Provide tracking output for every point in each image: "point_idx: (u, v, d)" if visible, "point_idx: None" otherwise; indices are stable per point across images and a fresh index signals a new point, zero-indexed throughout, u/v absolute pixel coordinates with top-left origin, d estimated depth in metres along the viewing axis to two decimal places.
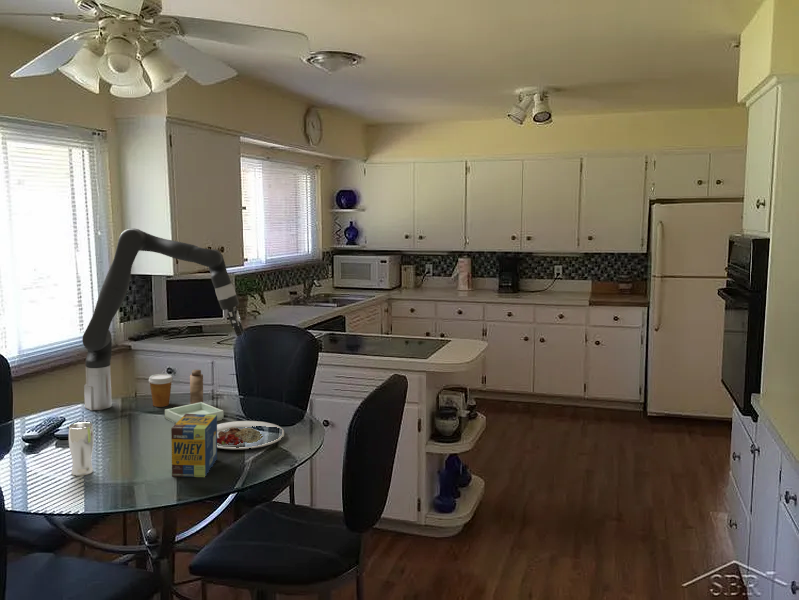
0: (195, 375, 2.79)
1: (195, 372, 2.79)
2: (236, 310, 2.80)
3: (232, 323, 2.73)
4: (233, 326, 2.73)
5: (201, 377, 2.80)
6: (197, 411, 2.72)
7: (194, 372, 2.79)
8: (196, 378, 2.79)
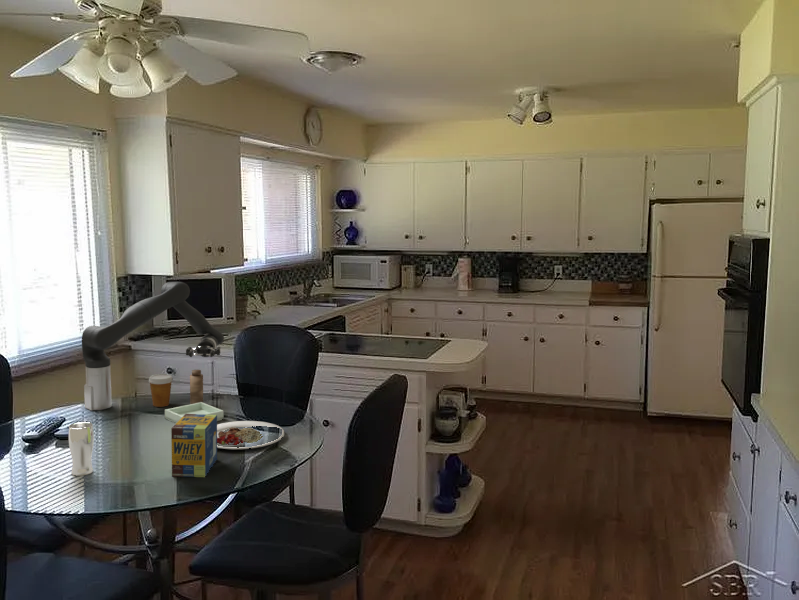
0: (195, 375, 2.79)
1: (195, 372, 2.79)
2: (202, 353, 3.01)
3: None
4: (218, 350, 2.96)
5: (201, 377, 2.80)
6: (197, 411, 2.72)
7: (194, 372, 2.79)
8: (196, 378, 2.79)
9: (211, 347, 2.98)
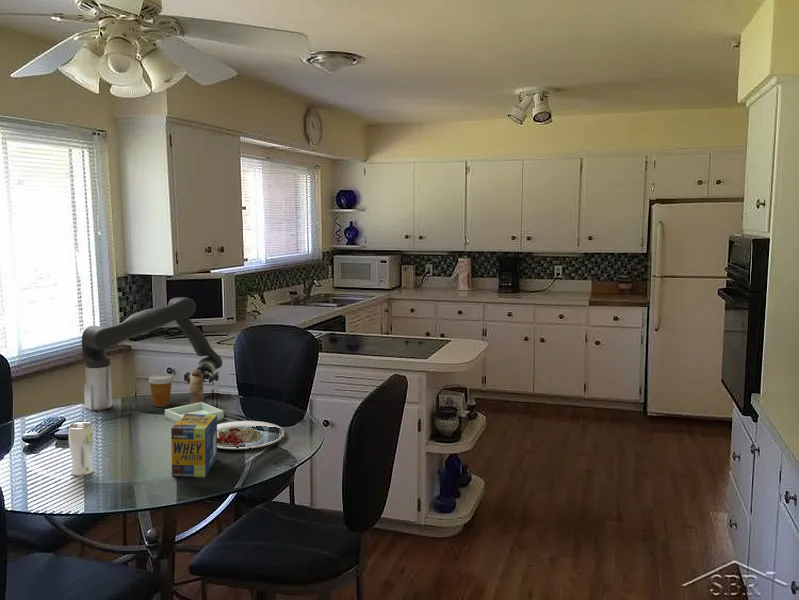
0: (195, 375, 2.79)
1: (195, 372, 2.79)
2: None
3: None
4: (216, 376, 2.94)
5: (201, 377, 2.80)
6: (197, 411, 2.72)
7: (194, 372, 2.79)
8: (196, 378, 2.79)
9: (209, 372, 2.96)
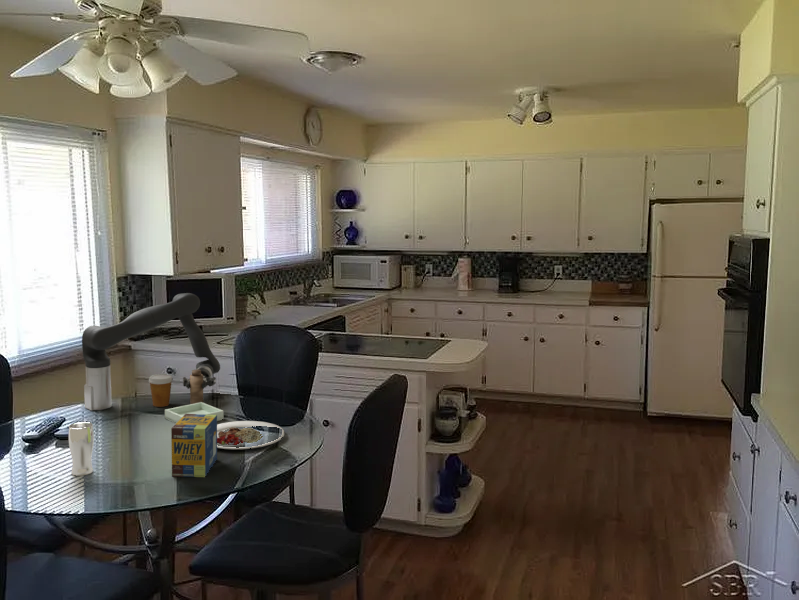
0: (195, 375, 2.79)
1: (195, 372, 2.79)
2: None
3: None
4: (209, 381, 2.84)
5: (201, 377, 2.80)
6: (197, 411, 2.72)
7: (194, 372, 2.79)
8: (196, 378, 2.79)
9: (205, 377, 2.86)
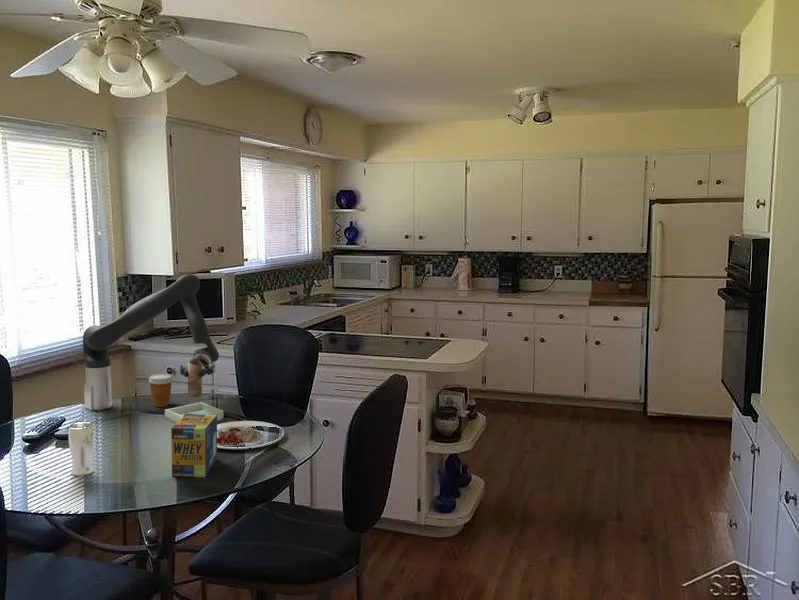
0: (193, 363, 2.63)
1: (193, 360, 2.63)
2: None
3: None
4: (208, 370, 2.68)
5: (199, 365, 2.64)
6: (197, 411, 2.72)
7: (192, 360, 2.63)
8: (194, 365, 2.63)
9: (203, 365, 2.70)
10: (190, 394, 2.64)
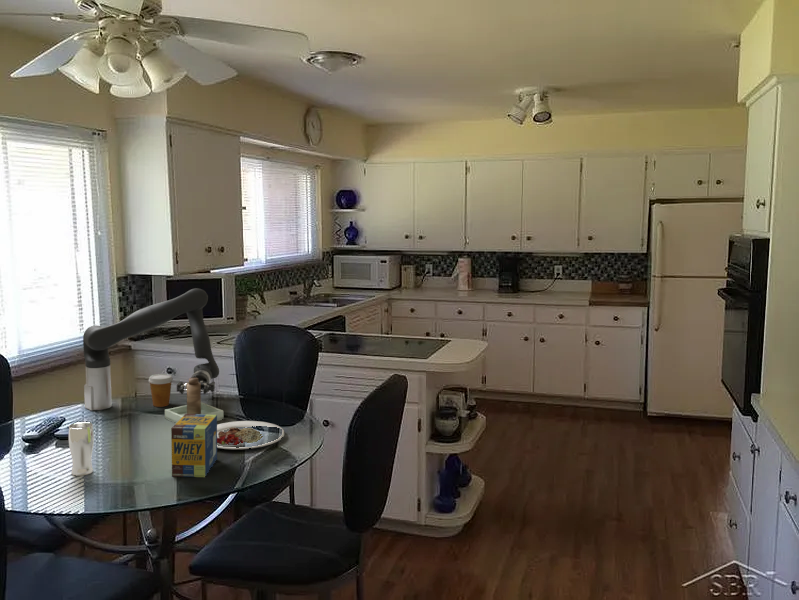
0: (192, 384, 2.62)
1: (192, 381, 2.62)
2: None
3: None
4: (212, 386, 2.67)
5: (198, 386, 2.63)
6: None
7: (191, 381, 2.62)
8: (193, 386, 2.61)
9: (204, 382, 2.69)
10: None
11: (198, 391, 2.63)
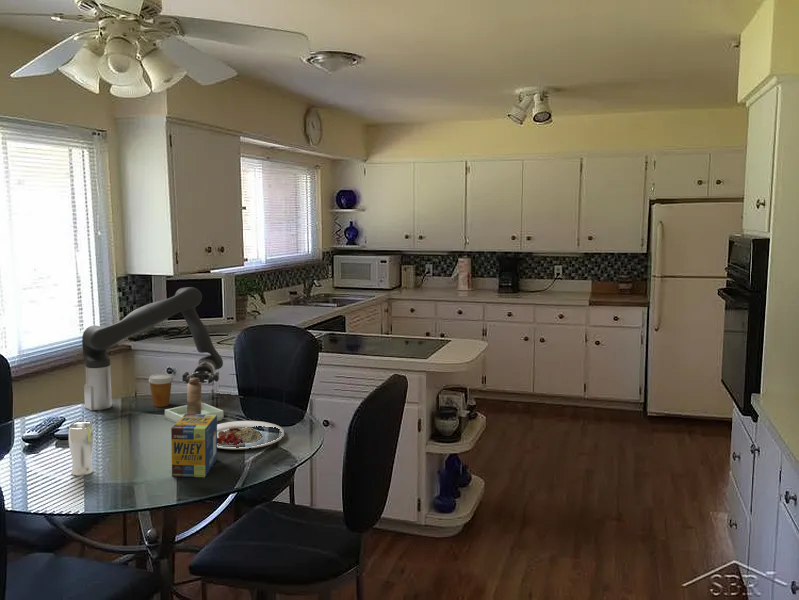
0: (193, 384, 2.62)
1: (193, 380, 2.62)
2: None
3: None
4: (216, 376, 2.80)
5: (199, 386, 2.63)
6: None
7: (192, 380, 2.62)
8: (194, 386, 2.61)
9: (209, 373, 2.82)
10: None
11: (199, 391, 2.63)
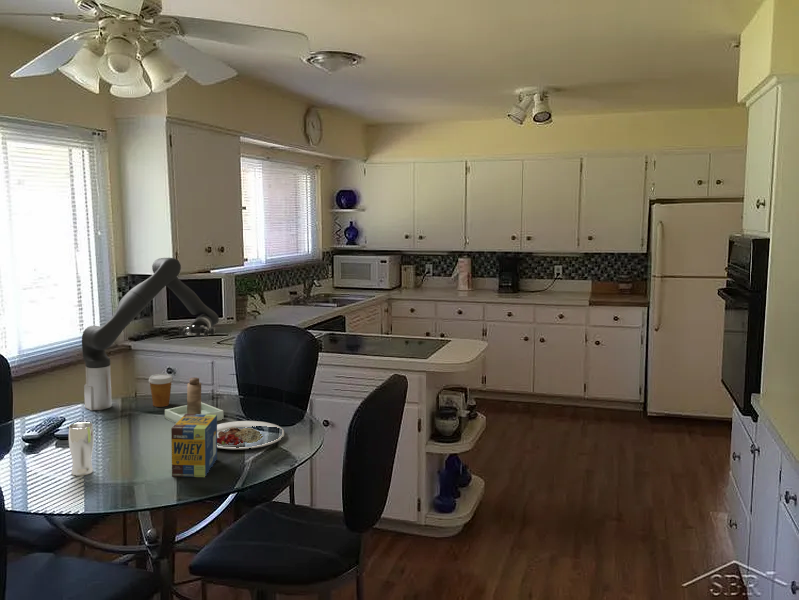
0: (193, 384, 2.62)
1: (193, 380, 2.62)
2: (196, 333, 2.91)
3: None
4: (212, 330, 2.86)
5: (199, 386, 2.63)
6: None
7: (192, 380, 2.62)
8: (194, 386, 2.61)
9: (205, 326, 2.88)
10: None
11: (199, 391, 2.63)
